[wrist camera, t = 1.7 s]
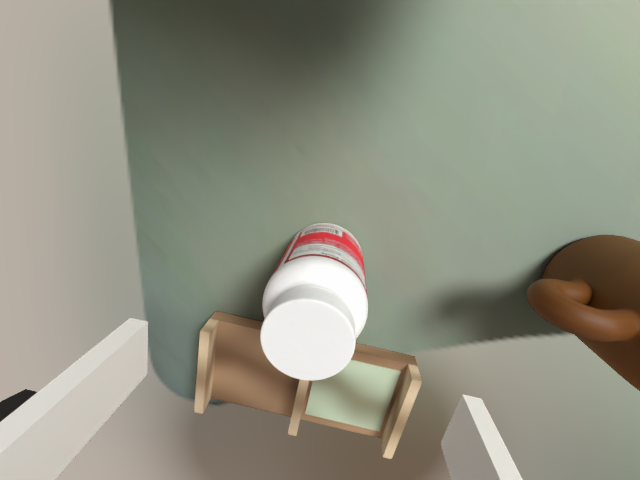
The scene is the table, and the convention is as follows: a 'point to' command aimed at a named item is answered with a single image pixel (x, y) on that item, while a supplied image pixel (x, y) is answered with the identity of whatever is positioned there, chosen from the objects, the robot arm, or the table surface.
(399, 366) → the notch board
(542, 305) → the mug
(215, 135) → the table surface
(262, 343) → the pill bottle
